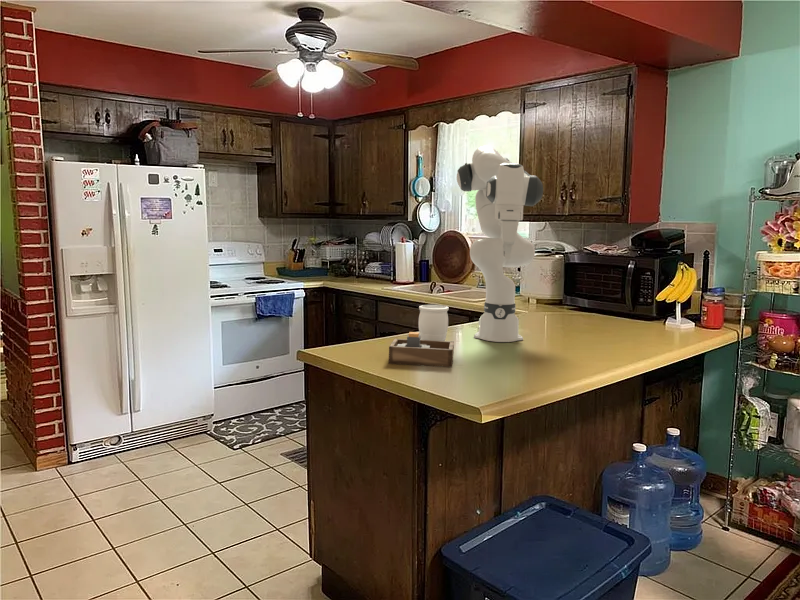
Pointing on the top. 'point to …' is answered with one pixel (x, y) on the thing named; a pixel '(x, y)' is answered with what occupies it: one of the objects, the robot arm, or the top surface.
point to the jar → (433, 322)
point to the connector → (413, 339)
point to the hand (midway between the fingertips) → (506, 257)
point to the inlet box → (422, 353)
